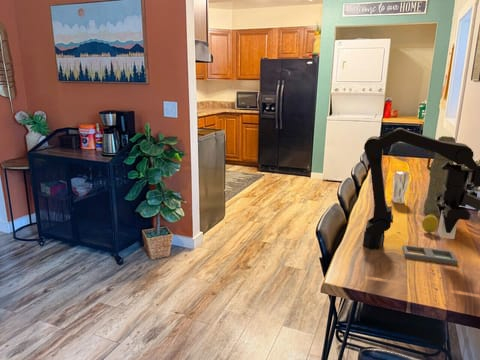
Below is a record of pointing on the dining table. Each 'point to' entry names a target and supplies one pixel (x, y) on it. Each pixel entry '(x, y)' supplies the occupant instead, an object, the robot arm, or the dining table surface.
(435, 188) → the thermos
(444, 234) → the plug
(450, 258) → the socket panel
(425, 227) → the lemon
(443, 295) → the dining table surface
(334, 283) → the dining table surface
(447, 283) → the dining table surface
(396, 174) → the grey marbled block
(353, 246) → the dining table surface
